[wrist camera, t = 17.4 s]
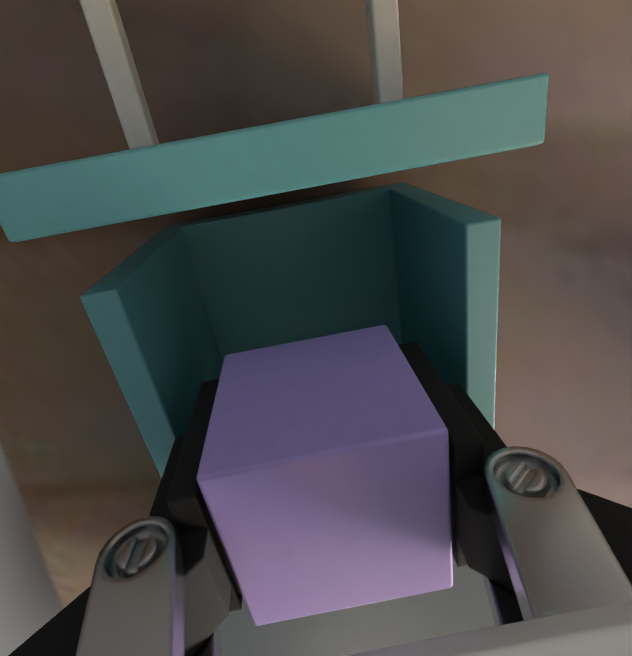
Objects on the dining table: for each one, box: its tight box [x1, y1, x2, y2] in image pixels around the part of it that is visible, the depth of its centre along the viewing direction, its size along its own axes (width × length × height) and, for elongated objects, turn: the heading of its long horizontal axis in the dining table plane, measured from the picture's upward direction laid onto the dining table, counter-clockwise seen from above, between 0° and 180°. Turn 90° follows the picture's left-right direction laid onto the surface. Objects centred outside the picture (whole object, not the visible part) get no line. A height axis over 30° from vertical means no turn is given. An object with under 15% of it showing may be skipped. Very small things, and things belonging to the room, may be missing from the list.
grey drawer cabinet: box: [219, 555, 495, 656], centre depth 19 cm, size 15×12×10 cm
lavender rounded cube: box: [196, 325, 453, 626], centre depth 9 cm, size 4×4×4 cm
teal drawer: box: [0, 0, 549, 479], centre depth 13 cm, size 18×10×8 cm, turn 9°
